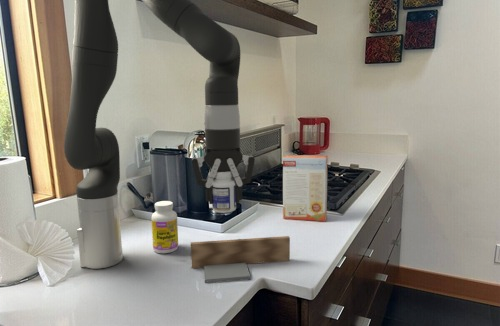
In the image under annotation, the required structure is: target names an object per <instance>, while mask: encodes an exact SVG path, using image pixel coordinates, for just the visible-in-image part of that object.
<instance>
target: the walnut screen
mask: <svg viewBox="0 0 500 326" xmlns="http://www.w3.org/2000/svg"><path fill="white" fill-rule="evenodd" d="M290 239H291V237H290V236H289V235H285V236H284V235H283V236H267V237H256V238H255V237H254V238H239V239H237V238H236V239H223V240H208V241H207V240H206V241H192V242H190V257H191V258H190V260H191V261H190V264H191V269H192V268H193V269H194V268H196V269H197V268H198V269H199V268H204V266H206V265H220V264H234V263H246V264H247V265H253V264H263V263H264V264H265V263H278V262H290V261H291V260H290V259H291V258H290V257H291V254H290V253H291V252H290V250H291V249H290V247H291V243H290V242H291V240H290Z"/></svg>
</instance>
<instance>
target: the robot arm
mask: <svg viewBox="0 0 500 326" xmlns="http://www.w3.org/2000/svg"><path fill="white" fill-rule="evenodd" d="M141 1H142V3H144V5H145V6H146V7H147V8H148V9H149V10H150V11H151V13H153V15H155V17H156V18H157V19H158V20H160V21H161V22H162V23H163V24H164V25H166V27H167V28H169V29H170V30H171V31H173V32H174V33H175V34H177V35H178V36H179V37H181V38H182V39H184V40H185V41H186V43H188V44H189V46H191V48H193V49H194V50H195V51H196V52H197V53H198V54H199V55H200V56H201V57H203V58H204V59H205V60H206V61H208V62H209V72H208V73H209V75H208V77H207V79H206V80H205V84H204V92H205V93H204V98H205V99H204V102H205V108H204V124H203V125H204V136H205V137H204V141H205V142H204V143H205V145H204V146H205V151H204V154H203V155H202V156H199V157H196V156H194V157H192V158H191V164H192V168H193V172H194V175H195V176H194V177H195V180H196V185H198V186H203V187H204V188H205V201H206V202H207V203H208V204H209V205H212V204H213V202H212V182H213V181H214V180H215V175H216V173H217V172H228V171H231V172H232V177H233V178H234V179H233V180H234V181H235V184H236V204H239V203H240V201H242V200H243V186H244V185H246V184H251V181H252V175H253V171H254V165H255V157H254V156H253V155H245V154H243V153H242V151H241V126H240V125H241V121H240V120H241V116H240V108H239V87H238V86H239V85H238V81H239V74H240V66H241V45H240V42H239V39H238V37H237V36H236V35H235V34H233V33H232V32H230V31H229V30H227V29H226V28H224V27H223V26H221V25H220V24H219V23H218V22H216V21H214V20H213V19H212V18H210V17H209V16H208V15H206V14H205V12H204V11H203V10H202V9H201V8H200V7H199V6H198V5H197V4H195V3H194V2H193V1H191V0H141ZM73 18H74V27H73V29H74V30H73V40H72V41H73V43H72V54H71V55H72V57H71V59H72V61H71V63H72V64H71V87H70V98H69V99H70V100H69V108H68V114H67V115H68V116H67V120H66V121H67V122H66V126H65V133H64V140H63V142H64V143H63V150H64V156H65V159H66V161H67V163H68V165H69V166H70V167H71V168H72V169H74V170H78V171H84V170H85V171H86V170H88V172H87V174H86V175H85V177H84V178H83V179H82V180H81V181H80V182H78V184H77V185H76V188H75V190H76V201H77V211H78V222H79V227H78V228H77V230H76V231H77V232H76V233H77V242H78V243H77V244H78V253H79V262H80V268H88V269H95V270H96V269H105V268H110V267H114V266H115V265H118V264H119V263H120V262H122V260H123V258H124V256H123V246H122V245H123V243H122V242H123V241H122V231H121V229H122V228H121V219H120V207H119V205H120V204H119V194H118V191H119V190H118V186H119V183H120V179H121V170H120V169H121V167H120V166H121V163H120V162H121V161H120V146H119V141H118V139H117V137H116V135H115V133H114V132H113V131H112V130H110V129H109V128H107V127H97V119H98V113H99V110H100V108H101V107H100V106H101V105H102V103H103V100H104V99H105V97H106V95H107V94H108V92H109V91H110V89H111V87H112V85H113V83H114V81H115V80H116V75H117V70H118V58H119V42H118V40H119V39H118V36H117V32H116V29H115V24H114V22H113V18H112V15H111V12H110V5H109V0H74V17H73ZM242 160H243V163H244V165H245V170H244V174H243V175H244V176H243V177H240V173H239V172H238V169H237V167H238V166H239V165H240V163H241V162H242ZM203 162H205V163H206V165H207V166H208V167H209V172H208V173H207V177H206V179H204V178H203V176H202V172H201V167H203Z"/></svg>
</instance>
